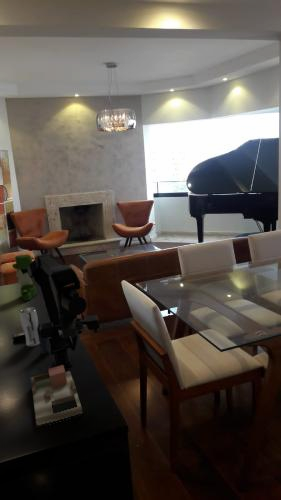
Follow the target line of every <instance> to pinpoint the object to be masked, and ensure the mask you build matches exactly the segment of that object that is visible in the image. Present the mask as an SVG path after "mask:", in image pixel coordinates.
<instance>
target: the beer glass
mask: <svg viewBox="0 0 281 500" xmlns="http://www.w3.org/2000/svg"><path fill="white" fill-rule="evenodd" d="M19 319H20V324H21V328H22V330H23V333H24V336H25V346H26V347H30V348H31V347H36V346H38V345H40V342H39V336H38V330H37V327H38V325H39V317H38V313H37V310H36V307H33V306H30V307H26V308H23V309H21V310H19Z"/></svg>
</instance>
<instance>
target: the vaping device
mask: <svg viewBox="0 0 281 500" xmlns="http://www.w3.org/2000/svg"><path fill="white" fill-rule="evenodd" d="M41 325H42V324H41V323H40V324H39V323H38V327H37V330H38V336H39V342H40V344H39V345H40V351H41V354H43V355H45V354H47V353H48V354H49V352H48V351H47V348H46V343H47V339H48V338H43V339H42V338H41V337H40V326H41Z"/></svg>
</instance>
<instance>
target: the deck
mask: <svg viewBox="0 0 281 500" xmlns="http://www.w3.org/2000/svg"><path fill="white" fill-rule="evenodd" d="M65 373H66V379H67V383H65V384H61V385H57V386H54V387H52V386H51V381H50V376H49V372H46V373H41V374H37V375H35V376H34V375H33V376H30V383H31V391H32V397H33V399H32V400H33V405H34V406H33V407H34V415H35V424H36V426H37V425H41V424H45V423H49V422H53V421H57V420H60V419H64V418H68V417H71V416H75V415H78V414H82V413H83V408H82V405H81V401H80V399H79V398H80V397H79V395H78V392H77V387H76V384H75V381H74V379H73V375H72V373H71V371H65ZM73 400H75V402H76V405H77V407H74V408H71V409H67V410H64V411H61V412H57V413H53V408H52V405H57V404H62V403H65V402H69V401H73ZM83 414H84V413H83Z"/></svg>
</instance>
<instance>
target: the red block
mask: <svg viewBox="0 0 281 500" xmlns="http://www.w3.org/2000/svg"><path fill="white" fill-rule="evenodd" d="M65 372H66V369H65V368H64V366H63V365H61V366H57V367H54V366H53V367H50V368H49V367H48V373H49V376H50V381H51V386H52V387H54V386H57V385H61V384H65V383H67V379H66V373H65Z"/></svg>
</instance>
